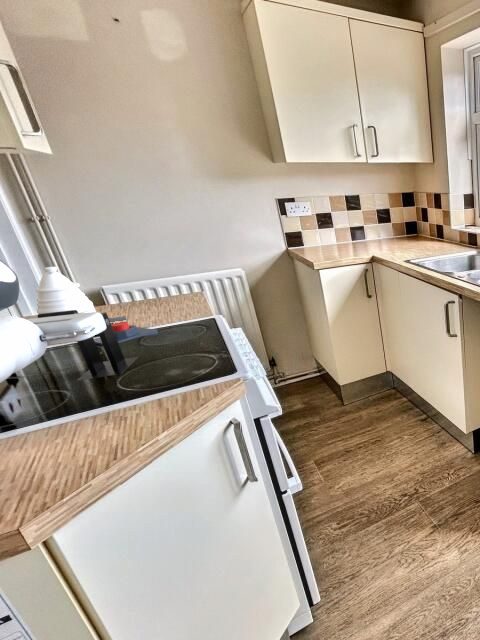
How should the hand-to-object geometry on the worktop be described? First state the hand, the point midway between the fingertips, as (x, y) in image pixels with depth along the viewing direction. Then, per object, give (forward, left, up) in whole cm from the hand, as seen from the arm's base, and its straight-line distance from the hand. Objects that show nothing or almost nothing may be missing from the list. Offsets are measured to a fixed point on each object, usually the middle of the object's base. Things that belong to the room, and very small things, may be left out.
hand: (50, 320), depth 81 cm
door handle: (+27, +52, -17) cm, 61 cm away
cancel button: (+24, +31, -14) cm, 41 cm away
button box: (+24, +31, -17) cm, 42 cm away
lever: (+5, +5, -3) cm, 8 cm away
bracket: (+9, +9, -17) cm, 21 cm away
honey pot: (+30, +70, -17) cm, 78 cm away
